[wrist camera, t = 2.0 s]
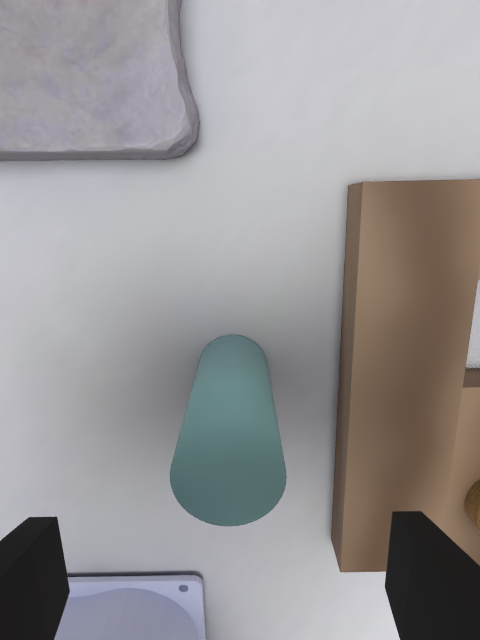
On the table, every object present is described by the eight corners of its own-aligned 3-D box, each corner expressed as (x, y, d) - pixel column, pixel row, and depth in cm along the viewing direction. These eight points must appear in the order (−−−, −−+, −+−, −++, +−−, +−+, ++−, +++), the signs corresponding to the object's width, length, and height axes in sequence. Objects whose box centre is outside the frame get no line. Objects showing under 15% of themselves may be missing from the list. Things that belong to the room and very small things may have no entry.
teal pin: (200, 398, 19) (173, 527, 11) (197, 335, 18) (165, 427, 10) (267, 397, 19) (285, 524, 11) (267, 334, 18) (286, 425, 10)
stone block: (-106, -71, 16) (-84, 185, 16) (-252, -231, 11) (-212, 141, 12) (193, -73, 16) (203, 178, 17) (179, -229, 11) (193, 132, 12)
